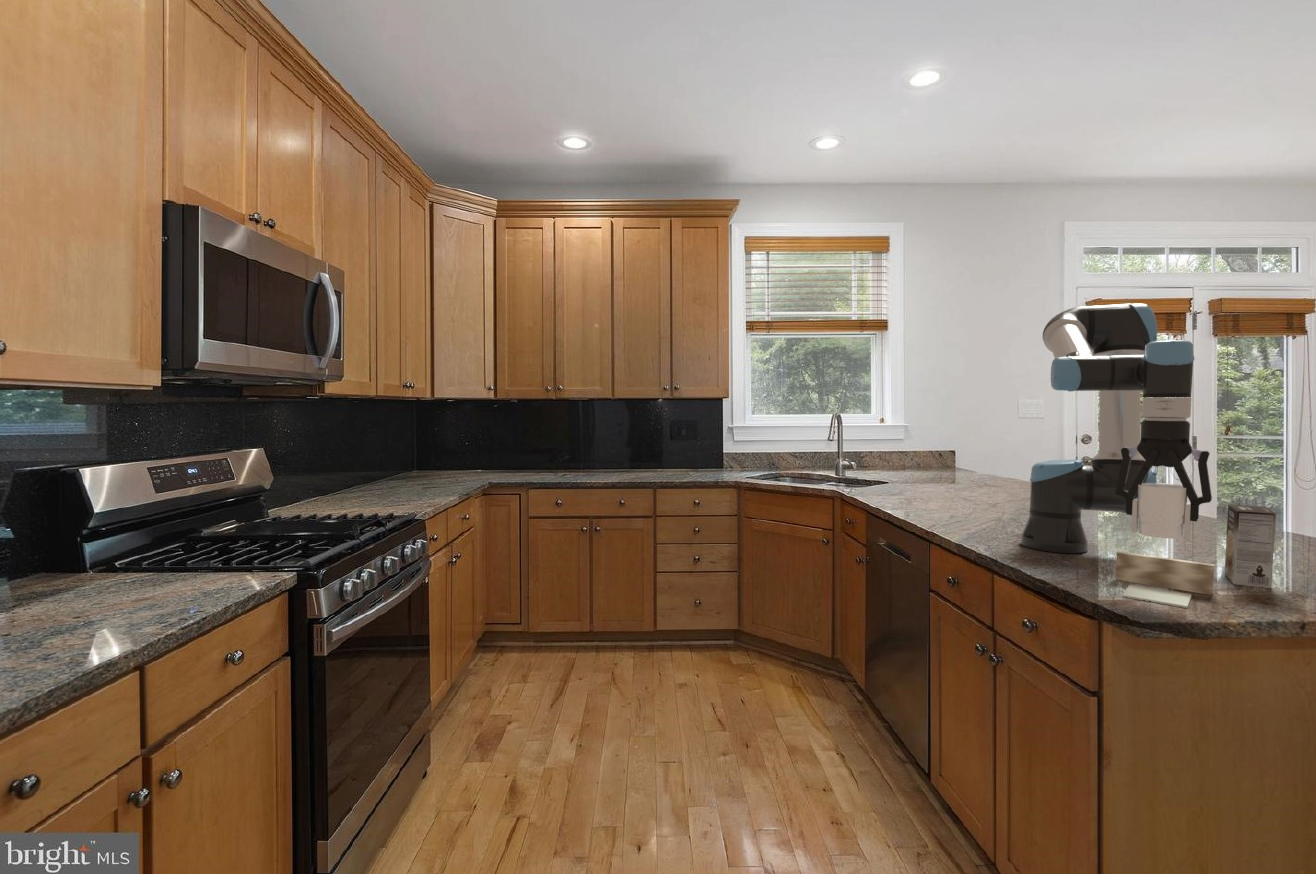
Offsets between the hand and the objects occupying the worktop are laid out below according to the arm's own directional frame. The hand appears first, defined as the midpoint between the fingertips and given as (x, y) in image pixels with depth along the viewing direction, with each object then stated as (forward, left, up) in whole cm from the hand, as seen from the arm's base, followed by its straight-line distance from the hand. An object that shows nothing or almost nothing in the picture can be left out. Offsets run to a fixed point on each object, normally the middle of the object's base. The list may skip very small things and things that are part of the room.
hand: (1160, 534), depth 126 cm
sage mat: (0, 0, -13) cm, 13 cm away
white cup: (0, 0, 0) cm, 0 cm away
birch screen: (0, +10, -13) cm, 16 cm away
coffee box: (+13, +27, -13) cm, 32 cm away
